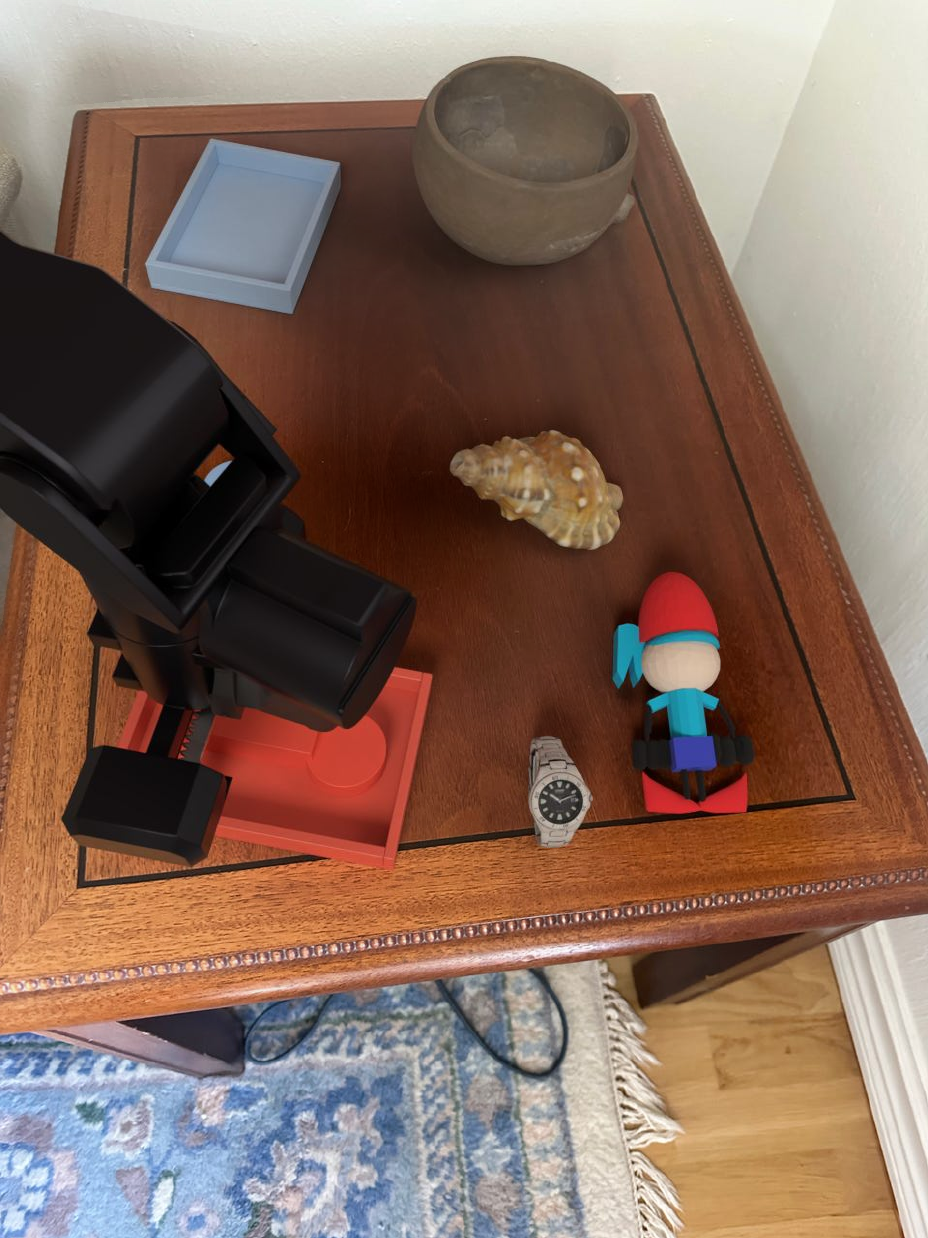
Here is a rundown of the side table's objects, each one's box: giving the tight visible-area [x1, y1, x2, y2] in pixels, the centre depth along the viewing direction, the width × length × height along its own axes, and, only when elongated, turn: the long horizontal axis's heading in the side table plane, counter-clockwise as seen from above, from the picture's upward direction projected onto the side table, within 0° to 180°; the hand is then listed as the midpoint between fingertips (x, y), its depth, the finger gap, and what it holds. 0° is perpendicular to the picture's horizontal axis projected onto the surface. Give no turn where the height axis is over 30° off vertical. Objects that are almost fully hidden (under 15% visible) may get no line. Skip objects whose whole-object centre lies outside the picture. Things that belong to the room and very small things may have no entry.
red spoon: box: [182, 707, 386, 797], centre depth 51 cm, size 12×5×3 cm, turn 80°
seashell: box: [449, 429, 624, 551], centre depth 60 cm, size 9×8×10 cm
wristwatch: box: [527, 735, 594, 849], centre depth 50 cm, size 4×6×5 cm, turn 4°
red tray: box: [116, 666, 434, 871], centre depth 52 cm, size 16×11×2 cm
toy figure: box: [611, 571, 756, 815], centre depth 55 cm, size 8×5×15 cm
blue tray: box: [144, 138, 342, 315], centre depth 73 cm, size 16×11×2 cm
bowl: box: [411, 55, 639, 267], centre depth 73 cm, size 17×18×10 cm
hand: (223, 729), depth 51 cm, fingers open, 8 cm apart
